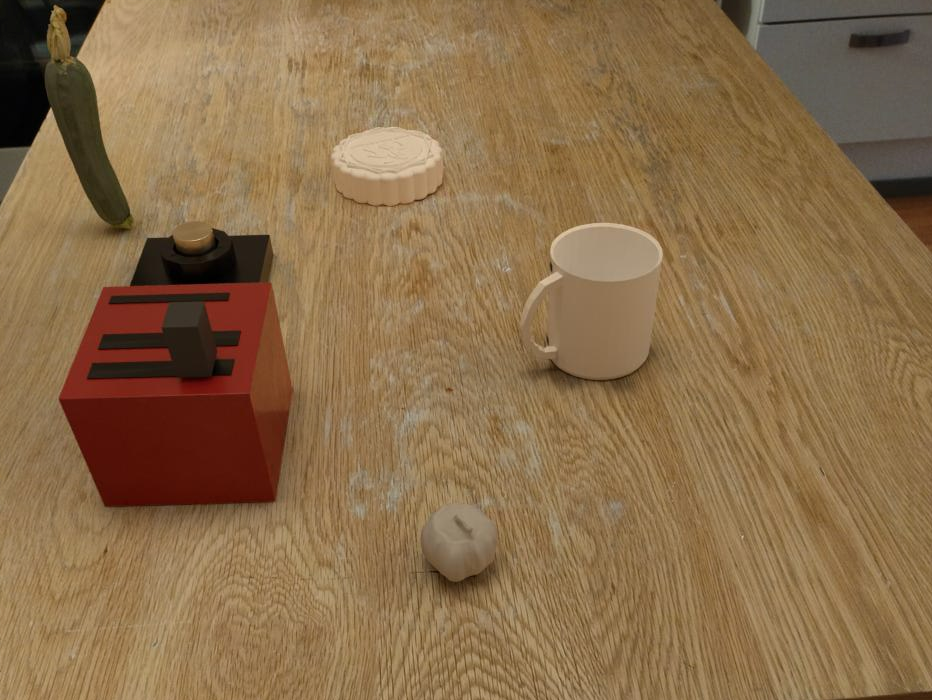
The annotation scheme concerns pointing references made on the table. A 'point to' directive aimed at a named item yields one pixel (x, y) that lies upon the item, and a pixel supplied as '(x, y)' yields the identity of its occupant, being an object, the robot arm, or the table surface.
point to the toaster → (181, 399)
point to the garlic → (459, 540)
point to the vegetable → (82, 125)
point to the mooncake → (387, 166)
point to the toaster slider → (189, 339)
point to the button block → (206, 262)
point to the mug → (597, 301)
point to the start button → (194, 239)
